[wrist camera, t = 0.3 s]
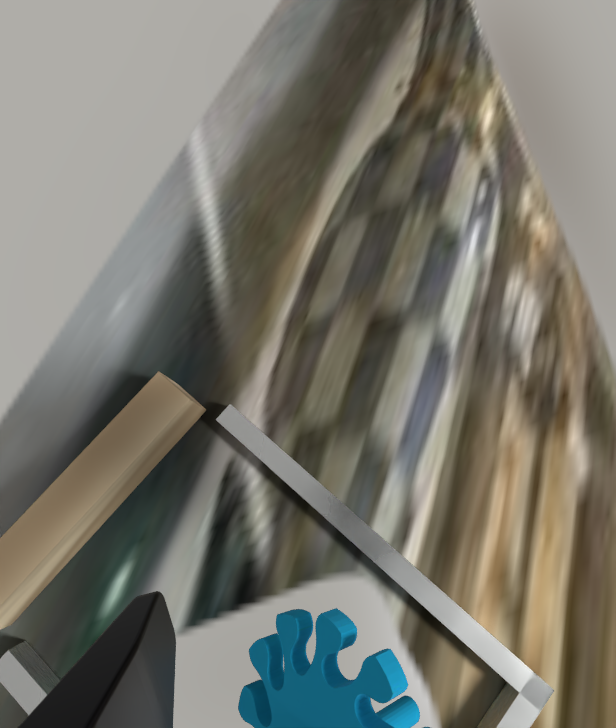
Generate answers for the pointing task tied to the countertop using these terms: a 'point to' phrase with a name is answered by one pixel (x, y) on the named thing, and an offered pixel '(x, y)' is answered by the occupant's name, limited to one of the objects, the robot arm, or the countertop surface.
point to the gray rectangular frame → (523, 688)
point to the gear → (322, 680)
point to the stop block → (91, 491)
